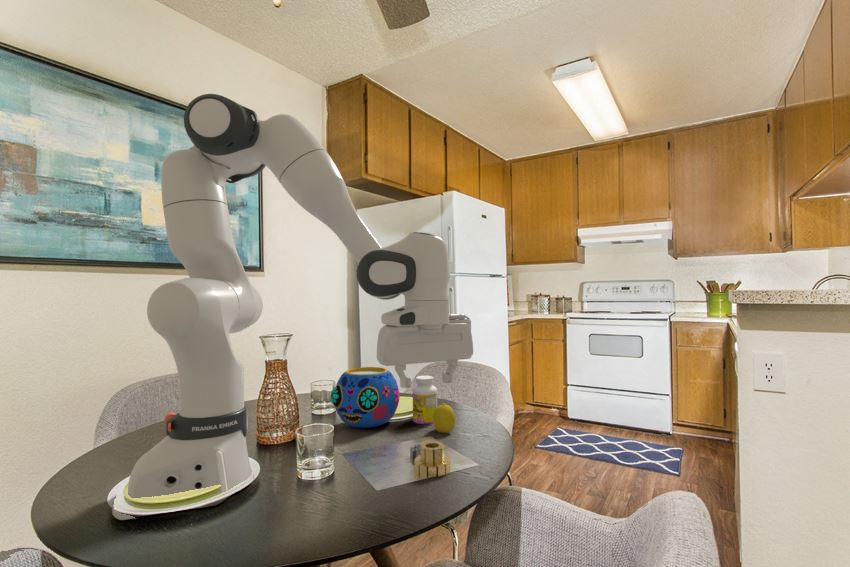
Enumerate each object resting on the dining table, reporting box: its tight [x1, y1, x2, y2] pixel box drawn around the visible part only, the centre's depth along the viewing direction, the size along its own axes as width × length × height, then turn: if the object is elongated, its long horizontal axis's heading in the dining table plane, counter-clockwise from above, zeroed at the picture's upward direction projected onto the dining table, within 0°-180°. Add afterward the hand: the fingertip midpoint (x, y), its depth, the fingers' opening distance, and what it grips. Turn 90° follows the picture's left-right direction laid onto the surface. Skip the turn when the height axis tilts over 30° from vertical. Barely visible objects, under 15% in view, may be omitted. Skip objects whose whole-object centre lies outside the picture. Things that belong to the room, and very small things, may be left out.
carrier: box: [341, 436, 480, 492], centre depth 90 cm, size 22×20×5 cm
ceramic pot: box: [330, 366, 400, 429], centre depth 116 cm, size 18×18×15 cm
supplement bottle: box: [412, 375, 438, 426], centre depth 117 cm, size 7×7×13 cm
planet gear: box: [414, 441, 451, 478], centre depth 84 cm, size 7×7×5 cm
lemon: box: [433, 402, 456, 434], centre depth 108 cm, size 6×6×8 cm
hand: (427, 384), depth 85 cm, fingers open, 8 cm apart
